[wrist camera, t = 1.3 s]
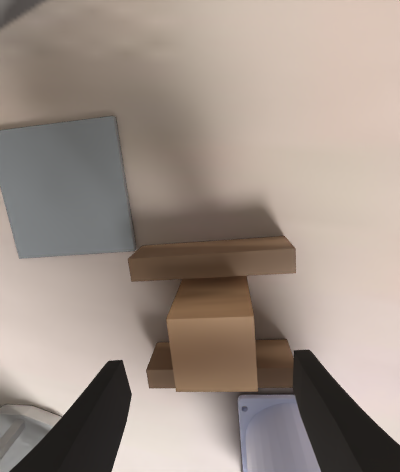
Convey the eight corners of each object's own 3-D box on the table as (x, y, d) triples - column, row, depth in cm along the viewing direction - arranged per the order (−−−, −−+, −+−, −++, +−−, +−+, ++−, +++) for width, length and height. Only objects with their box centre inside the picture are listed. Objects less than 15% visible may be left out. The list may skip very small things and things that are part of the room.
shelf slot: (287, 356, 20) (297, 387, 17) (159, 358, 22) (149, 388, 19) (284, 236, 18) (295, 248, 15) (142, 245, 19) (127, 258, 16)
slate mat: (136, 249, 19) (134, 250, 19) (23, 257, 20) (19, 258, 20) (115, 116, 17) (113, 115, 17) (-9, 132, 18) (-15, 132, 18)
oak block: (248, 327, 20) (258, 391, 14) (190, 329, 21) (176, 391, 15) (245, 272, 19) (253, 316, 13) (183, 275, 20) (166, 319, 14)
